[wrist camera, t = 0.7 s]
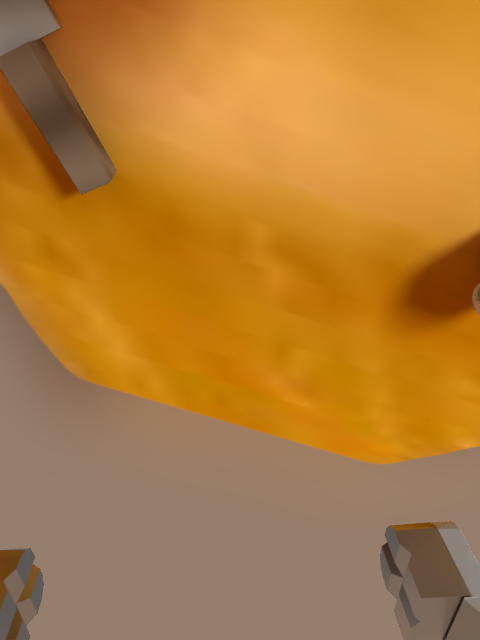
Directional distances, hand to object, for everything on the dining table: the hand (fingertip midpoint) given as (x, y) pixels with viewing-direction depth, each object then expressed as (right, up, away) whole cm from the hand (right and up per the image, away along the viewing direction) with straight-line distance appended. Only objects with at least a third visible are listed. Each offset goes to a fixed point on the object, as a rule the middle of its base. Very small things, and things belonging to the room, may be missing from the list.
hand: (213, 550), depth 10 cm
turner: (-14, +24, +22) cm, 35 cm away
